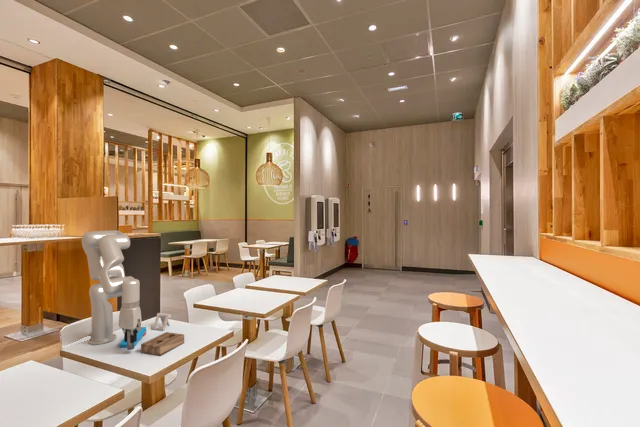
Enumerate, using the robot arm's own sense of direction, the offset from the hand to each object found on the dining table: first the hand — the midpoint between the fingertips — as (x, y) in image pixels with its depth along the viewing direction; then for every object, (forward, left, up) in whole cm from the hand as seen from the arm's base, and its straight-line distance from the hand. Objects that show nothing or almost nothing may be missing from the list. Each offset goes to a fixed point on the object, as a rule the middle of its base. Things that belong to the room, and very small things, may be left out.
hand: (130, 341), depth 152 cm
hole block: (+11, +10, -6) cm, 16 cm away
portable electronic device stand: (-12, +32, -6) cm, 35 cm away
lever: (-11, +12, -6) cm, 18 cm away
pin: (0, 0, -4) cm, 4 cm away
